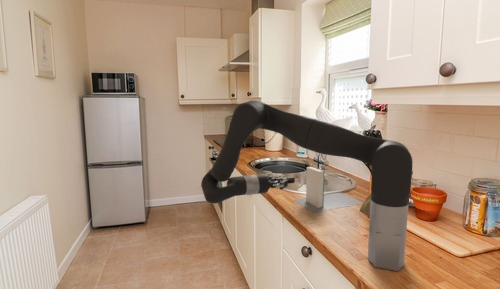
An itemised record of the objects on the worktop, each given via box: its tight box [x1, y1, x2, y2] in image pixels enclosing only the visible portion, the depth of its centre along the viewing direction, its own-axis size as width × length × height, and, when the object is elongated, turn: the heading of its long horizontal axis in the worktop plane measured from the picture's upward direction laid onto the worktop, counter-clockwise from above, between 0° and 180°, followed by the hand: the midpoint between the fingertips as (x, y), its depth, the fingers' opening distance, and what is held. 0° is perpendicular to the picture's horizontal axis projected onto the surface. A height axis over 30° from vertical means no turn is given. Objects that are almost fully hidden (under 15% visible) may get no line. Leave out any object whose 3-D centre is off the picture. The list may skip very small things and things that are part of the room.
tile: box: [305, 166, 325, 208], centre depth 124 cm, size 2×9×15 cm, turn 23°
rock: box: [359, 192, 371, 219], centre depth 112 cm, size 11×9×10 cm
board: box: [292, 192, 365, 213], centre depth 128 cm, size 26×16×1 cm, turn 113°
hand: (293, 179), depth 120 cm, fingers closed
